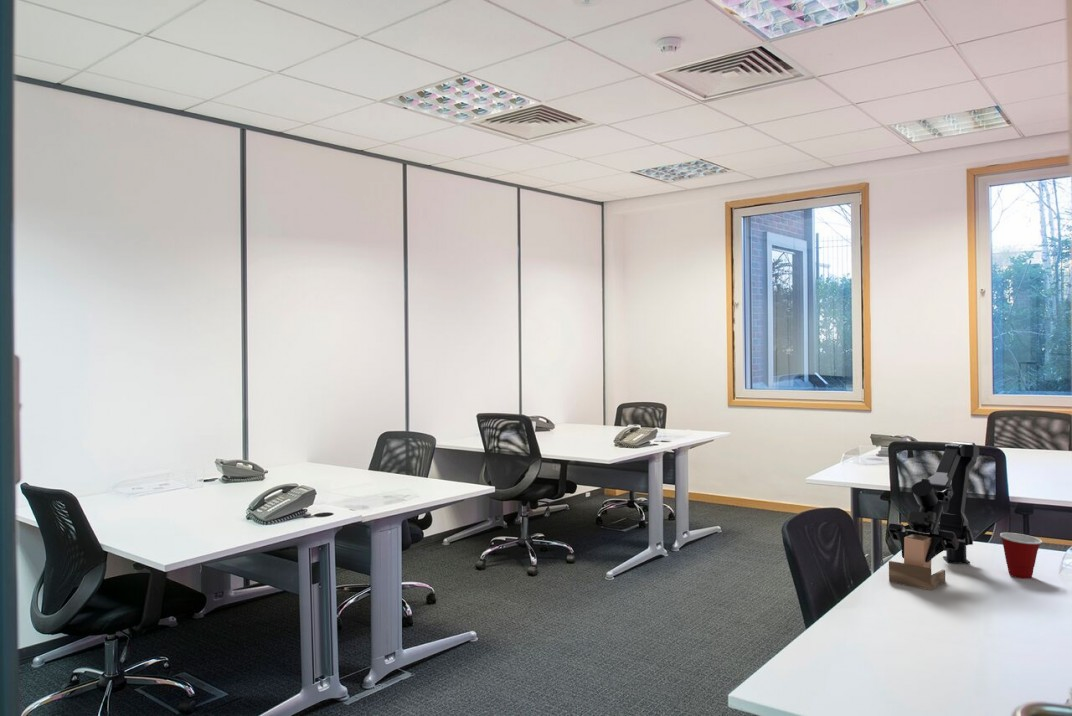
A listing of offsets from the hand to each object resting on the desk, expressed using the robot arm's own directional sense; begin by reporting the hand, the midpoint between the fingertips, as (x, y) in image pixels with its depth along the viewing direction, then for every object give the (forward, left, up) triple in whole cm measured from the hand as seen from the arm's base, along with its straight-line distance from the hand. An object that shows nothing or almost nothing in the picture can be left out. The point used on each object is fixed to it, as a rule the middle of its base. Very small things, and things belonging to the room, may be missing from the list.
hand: (914, 559), depth 220 cm
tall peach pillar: (-1, +1, -7) cm, 7 cm away
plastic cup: (-14, +32, -7) cm, 36 cm away
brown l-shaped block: (-1, +1, -7) cm, 7 cm away
